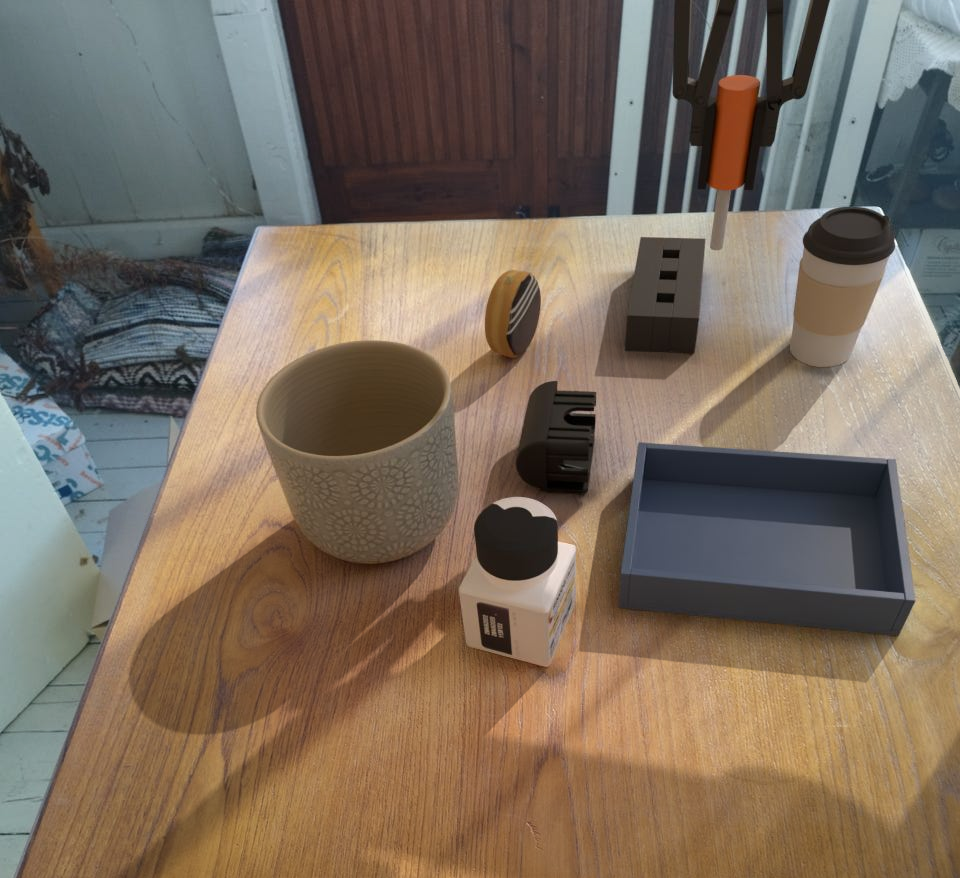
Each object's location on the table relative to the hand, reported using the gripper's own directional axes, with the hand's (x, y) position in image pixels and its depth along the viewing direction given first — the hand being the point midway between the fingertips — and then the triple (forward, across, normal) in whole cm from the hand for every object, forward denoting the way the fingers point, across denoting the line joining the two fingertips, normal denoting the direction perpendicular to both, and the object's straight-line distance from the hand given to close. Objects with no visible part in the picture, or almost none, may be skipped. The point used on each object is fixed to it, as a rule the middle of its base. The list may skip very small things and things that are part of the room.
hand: (725, 182), depth 79 cm
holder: (+23, -5, +16) cm, 28 cm away
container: (+23, -13, -36) cm, 44 cm away
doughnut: (+23, -22, +6) cm, 32 cm away
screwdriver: (+6, 0, 0) cm, 6 cm away
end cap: (+23, -13, -14) cm, 30 cm away
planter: (+23, -29, -25) cm, 45 cm away
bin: (+23, +7, -24) cm, 33 cm away
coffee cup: (+23, +13, +10) cm, 28 cm away
